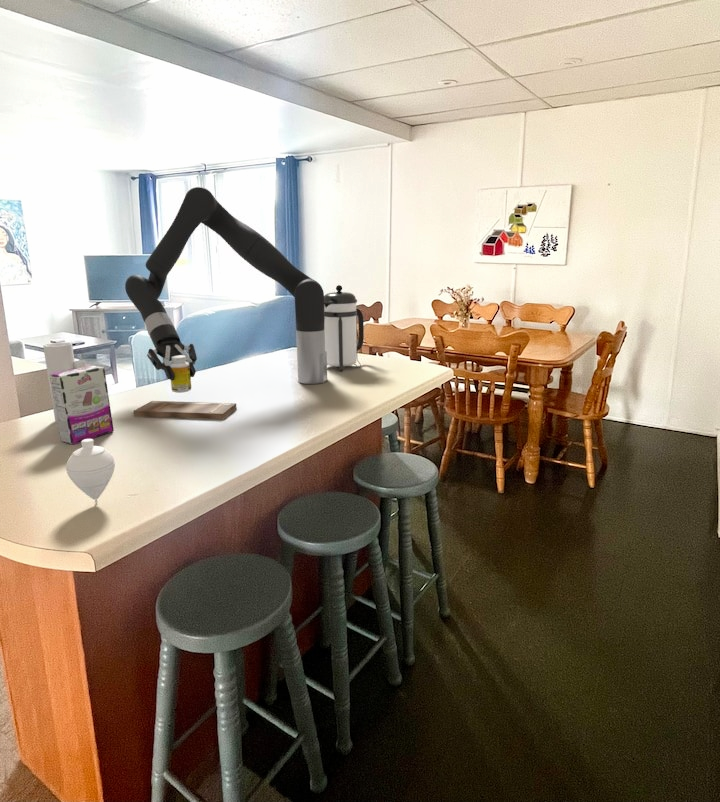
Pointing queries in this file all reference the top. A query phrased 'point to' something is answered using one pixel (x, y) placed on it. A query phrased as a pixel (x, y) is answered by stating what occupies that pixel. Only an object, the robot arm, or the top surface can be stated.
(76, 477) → the spinning top
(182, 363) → the supplement bottle
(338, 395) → the top surface
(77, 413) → the candy bar box
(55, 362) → the vase
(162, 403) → the walnut board
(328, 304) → the coffee press
